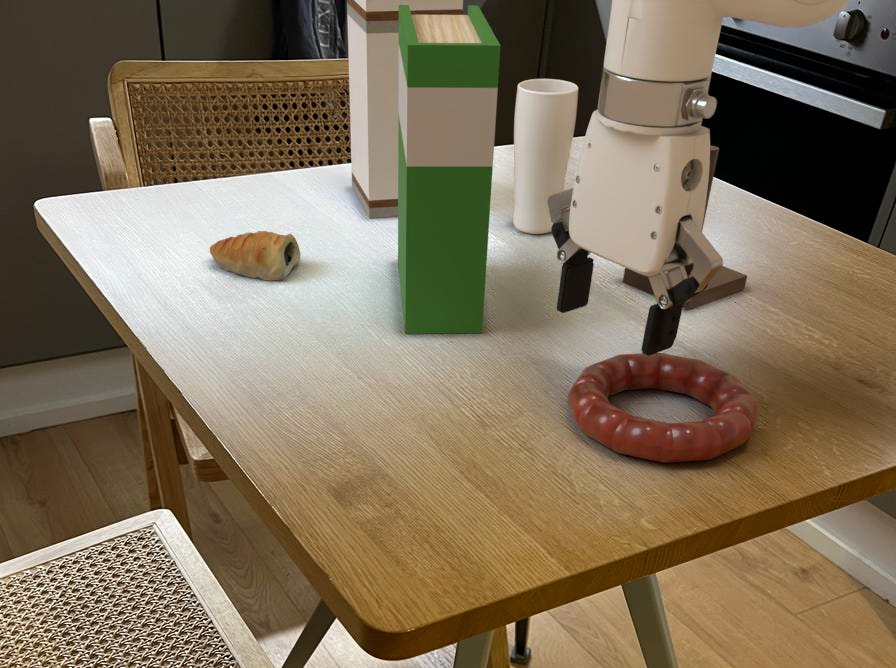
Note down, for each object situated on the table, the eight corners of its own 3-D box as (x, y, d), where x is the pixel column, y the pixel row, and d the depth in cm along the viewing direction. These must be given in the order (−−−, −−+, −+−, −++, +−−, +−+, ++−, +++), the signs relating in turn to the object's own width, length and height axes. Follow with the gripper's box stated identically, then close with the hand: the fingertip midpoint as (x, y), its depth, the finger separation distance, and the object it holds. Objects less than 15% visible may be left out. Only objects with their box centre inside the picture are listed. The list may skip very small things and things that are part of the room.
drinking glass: (554, 216, 118) (569, 77, 108) (570, 236, 113) (587, 92, 103) (500, 219, 117) (510, 79, 107) (514, 239, 112) (525, 94, 102)
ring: (788, 430, 80) (798, 397, 78) (666, 490, 73) (673, 455, 71) (651, 363, 89) (657, 332, 87) (531, 411, 82) (534, 378, 80)
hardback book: (397, 264, 106) (398, 4, 90) (465, 263, 106) (478, 5, 90) (405, 333, 93) (407, 44, 77) (482, 333, 93) (500, 45, 77)
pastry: (201, 273, 103) (196, 236, 101) (227, 251, 108) (223, 216, 105) (283, 283, 101) (280, 246, 99) (306, 261, 106) (304, 225, 104)
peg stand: (744, 289, 102) (778, 151, 93) (687, 310, 98) (717, 167, 89) (678, 263, 107) (704, 129, 98) (622, 281, 103) (644, 144, 94)
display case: (454, 212, 118) (469, -157, 95) (369, 218, 116) (363, -158, 93) (432, 183, 127) (440, -164, 103) (352, 188, 125) (342, -164, 101)
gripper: (784, 120, 66) (724, 356, 77) (601, 69, 76) (572, 285, 87) (713, 136, 62) (661, 381, 74) (531, 80, 72) (510, 304, 84)
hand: (612, 328), depth 80 cm, fingers open, 9 cm apart
